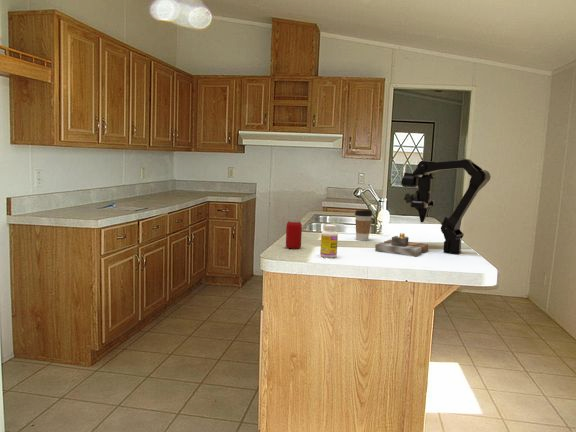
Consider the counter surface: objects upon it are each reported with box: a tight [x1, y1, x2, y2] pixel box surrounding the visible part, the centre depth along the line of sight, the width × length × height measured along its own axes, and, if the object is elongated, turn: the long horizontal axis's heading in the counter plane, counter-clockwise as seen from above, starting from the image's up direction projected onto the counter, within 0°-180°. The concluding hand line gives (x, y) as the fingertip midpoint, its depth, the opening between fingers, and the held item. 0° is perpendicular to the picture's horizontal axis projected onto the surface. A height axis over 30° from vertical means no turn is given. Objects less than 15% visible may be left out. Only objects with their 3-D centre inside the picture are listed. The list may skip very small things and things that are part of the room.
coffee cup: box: [354, 209, 373, 242], centre depth 244 cm, size 8×8×15 cm
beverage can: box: [285, 219, 303, 250], centre depth 215 cm, size 7×7×12 cm
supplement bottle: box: [319, 223, 339, 259], centre depth 198 cm, size 7×7×13 cm
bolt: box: [397, 232, 407, 238], centre depth 216 cm, size 3×7×5 cm, turn 148°
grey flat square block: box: [374, 235, 429, 257], centre depth 217 cm, size 18×18×6 cm
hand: (422, 222), depth 226 cm, fingers closed
